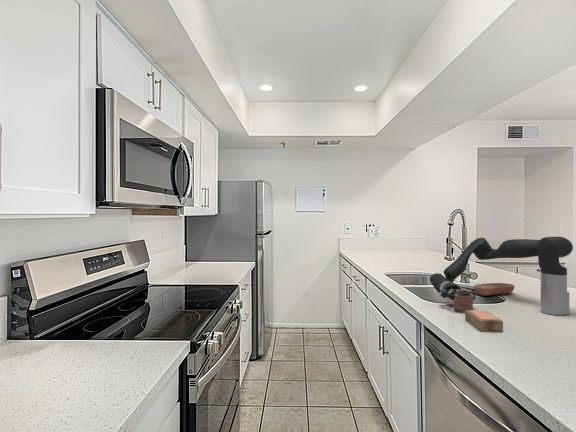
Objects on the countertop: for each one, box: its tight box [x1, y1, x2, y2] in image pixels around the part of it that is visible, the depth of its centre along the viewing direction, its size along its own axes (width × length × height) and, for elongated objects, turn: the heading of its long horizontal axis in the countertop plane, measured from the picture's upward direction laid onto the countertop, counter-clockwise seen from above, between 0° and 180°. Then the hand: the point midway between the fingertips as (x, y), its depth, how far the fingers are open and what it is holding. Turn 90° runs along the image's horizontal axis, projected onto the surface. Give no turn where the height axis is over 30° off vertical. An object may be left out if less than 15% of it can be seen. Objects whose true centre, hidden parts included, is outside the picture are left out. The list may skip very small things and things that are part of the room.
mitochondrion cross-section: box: [473, 282, 515, 297], centre depth 189 cm, size 23×10×5 cm, turn 106°
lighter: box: [453, 288, 474, 313], centre depth 157 cm, size 8×3×10 cm, turn 83°
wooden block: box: [464, 309, 504, 333], centre depth 139 cm, size 8×14×4 cm, turn 175°
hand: (463, 298), depth 158 cm, fingers closed on lighter, 8 cm apart
